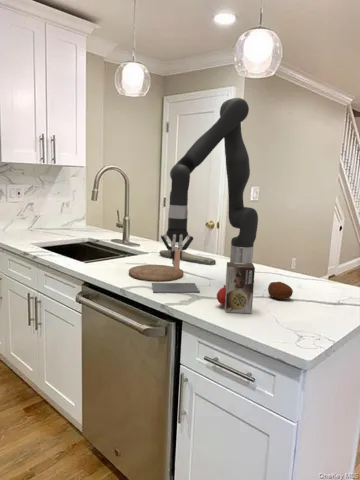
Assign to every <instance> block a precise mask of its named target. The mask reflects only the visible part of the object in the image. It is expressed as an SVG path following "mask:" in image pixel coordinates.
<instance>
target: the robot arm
mask: <svg viewBox="0 0 360 480" xmlns="http://www.w3.org/2000/svg"><path fill="white" fill-rule="evenodd" d="M249 109H250V108H249V104H248V102H247V101H246V100H245V99H243V98H241V97H234V98H230V99H227V100H224V102H223V103H222V104H221V106H220V109H219V118H218V119H217V121H216V122H215V123H214V124H213V125H212V126H211V127H210V128H209V129H208V130H206V131H205V132H204V134H202V135H201V136H200V137H199V138H198V139H196V141H194V143H193V145H191V147H190V148H189V149H188V150H187V151H186V152H185V154H184V155H183V156H182V157H181V158H180V159H179V160H178V161H177V162H176V163H175V164H174V165H173V166H172V168H171V169H170V172H169V176H170V179H171V188H170V189H171V190H170V194H169V205H168V206H169V207H168V214H167V231H166V233H165V234H163V235H162V234H161V235H160V239H161V240H162V243H163V244H164V246H165V247H166V249H167V250H171V258H170V260H171V261H172V260H173V261H174V250H175V247H176V243H177V244H178V245H177V247H178V249H179V250H180V259H181V258H182V251H186V250H187V249H188V248H189V246H190V245H191V243H192V242H193V240H194V237H193V236H192V235H190V234H189V232H188V213H189V211H188V201H189V194H188V193H189V188H190V187H189V186H190V183H191V182H190V181H191V174H192V173H193V172H194V170H195V169H196V168H197V167H199V166H201V165H202V163H203V162H204V161H205V159H206V158H208V156H209V155H210V154H211V153H212V152H213V151H214V149H215V148H216V147H217V146H218V145H219V144H220V142H221V141H222V140H224V142H223V143H224V155H225V156H224V157H225V169H226V177H227V192H228V221H229V224H230V225H231V227H232V228H235V229H239V231H238V232H239V233H238V235H237V236H234V237H232V238H231V241H230V257H229V262H237V263H253V258H254V245H255V244H254V243H255V241H256V238H257V231H258V223H259V215H258V211H257V210H256V209H255V208H253V207H248V206H245V205H244V192H245V189H246V186H247V184H248V182H249V179H250V176H251V169H250V166H251V165H250V158H249V153H248V150H247V147H246V145H245V142H244V139H243V135H242V134H243V133H242V122H244V120H246V119H247V117H248V115H249V111H250V110H249ZM168 239H169V241H170V242H171V245H169V243H168V241H167V240H168ZM185 239H186V241H185ZM184 241H185V243H184V244H183V242H184Z"/></svg>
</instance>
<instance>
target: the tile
mask: <svg viewBox="0 0 360 480" xmlns="http://www.w3.org/2000/svg"><path fill="white" fill-rule="evenodd" d="M171 262H172V266H173V267H174V268H175V269H181V268H180V266H181V265H180V263H181V260H180V250H179V249H178V246H175V250H174V261H173V260H172V259H171Z"/></svg>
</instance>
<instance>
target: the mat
mask: <svg viewBox="0 0 360 480" xmlns="http://www.w3.org/2000/svg"><path fill="white" fill-rule="evenodd" d="M151 287H152V292H153V294H200V293H201V292H200V289H199V287H198V286H197V285H196V283H195V282H151Z"/></svg>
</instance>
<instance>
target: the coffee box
mask: <svg viewBox="0 0 360 480" xmlns="http://www.w3.org/2000/svg"><path fill="white" fill-rule="evenodd" d="M255 270H256V267H255V265H254V264H253V262H252V263H237V262H230V261H227V262H226V273H225V274H226V275H225V285H226V297H225V306H224V307H223V308H224V311H225V313H239V314H252V313H253V299H254V287H255V272H256V271H255Z"/></svg>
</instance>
